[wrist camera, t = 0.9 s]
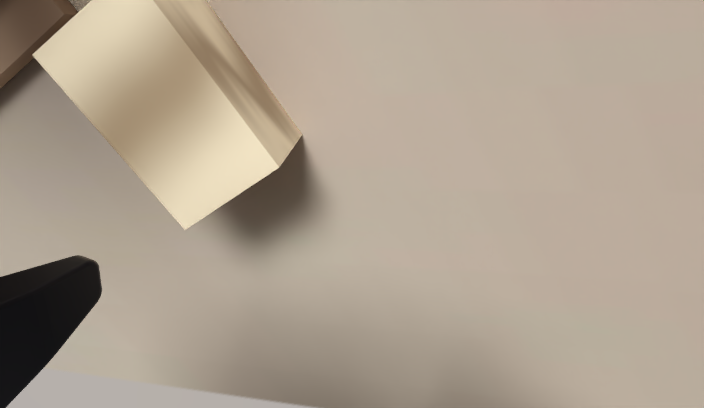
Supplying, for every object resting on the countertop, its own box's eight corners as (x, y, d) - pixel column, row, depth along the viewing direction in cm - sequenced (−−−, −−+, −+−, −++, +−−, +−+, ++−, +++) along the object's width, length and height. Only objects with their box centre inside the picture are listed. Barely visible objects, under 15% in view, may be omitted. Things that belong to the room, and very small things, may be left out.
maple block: (302, 134, 20) (279, 167, 15) (227, 184, 21) (184, 229, 17) (193, -19, 18) (127, -33, 13) (116, 47, 19) (31, 55, 14)
